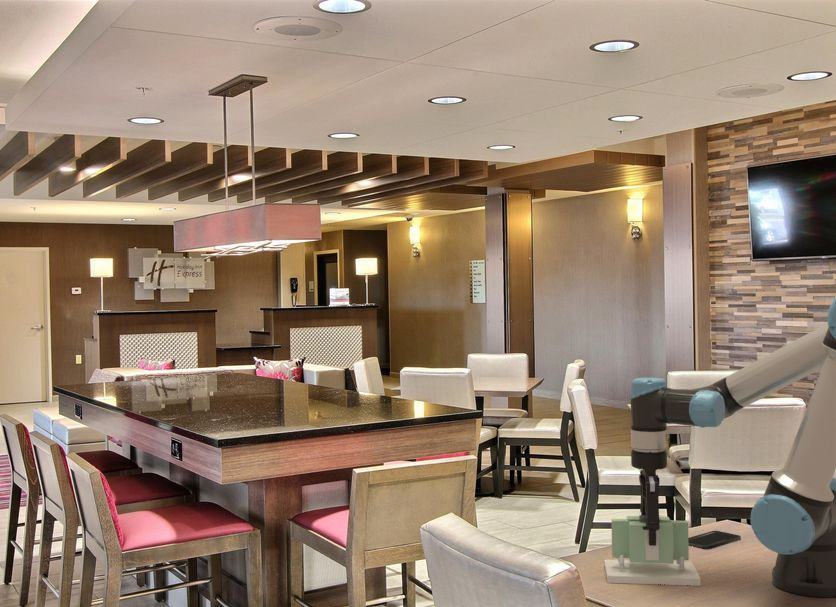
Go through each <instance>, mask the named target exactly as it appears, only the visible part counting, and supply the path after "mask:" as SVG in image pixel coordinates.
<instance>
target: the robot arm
mask: <svg viewBox="0 0 836 607" xmlns="http://www.w3.org/2000/svg"><path fill="white" fill-rule="evenodd" d="M826 320H827V323H825V324H823V325H822V326H820V327H818V328H816V329H814V330H812V331H810V332H808V333H806V334H804V335H803V336H801V337H799V338H796V339H795V340H793V341H791V342H789V343H787V344H785V345H784V346H782V347H780V348H778V349H776V350H774V351H772V352H771V353H769V354H767V355H765V356H762V357H761V358H759V359H757V360H755V361H754V362H752V363H750V364H748V365H746V366H745V367H742V368H741V369H739V370H737V371H735V372H732V373H731V374H729V375H727V376H726V377H723V378H721V379H719V380H718V381H716V382H714V383H712V384H710V385H707V386H702V387H698V388H697V387H696V388H693V389H689V388H688V389H686V388H685V389H684V388H681V389H680V388H670V387H668V385H667V381H666V380H665V379H664V378H662V377H661V378H659V377H637V378H634V379H632V381H631V384H630V397H629V401H630V421H631V422H630V424H631V425H630V446H631V448H633V449H632V450H631V451H630V455H631V456H630V458H631V459H630V460H631V461H630V462H631V463H630V465H631V467H632V468H635V469H638V470H640V471H639V475H638V476H639V477H638V480H639V491H640V509H639V511H640V515H646V527H645V526H643V530H645V559H646V560H656V561H659V530H658V529H660V525H659V517H660V509H659V508H660V505H659V504H660V503H659V502H660V501H659V500H660V499H659V496H660V490H659V489H660V487H659V486H660V484H661V480H660V477H659V475H658V474H657V470H664V469H666V468H667V467H668V452H667V451H666V450H665V449H666V448H667V447H668V446H667V443H668V442H667V439H669V438H670V434H668V433H667V426H668V425H667V424H671V425H683V426H689V427H690V426H693V427H699V428H717V427H719V426H720V425H721V424H722V422H723V421H724V419H726V418H729V417H731V416H733V415H734V414H735V413H737V412H738V411H740V410H741V409H743V408H746V407H748V406H749V405H751V404H754V403H756V402H757V401H759V400H762V399H764V398H765V397H768V396H770V395H772V394H774V393H776V392H778V391H780V390H781V389H784V388H786V387H788V386H790V385H792V384H793V383H796V382H798V381H800V380H802V379H804V378H806V377H808V376H810V375H812V374H814V373H816V372H818V371H820V370H821V371H820V372H819V375H818V378H817V380H816V383H815V386H814V388H813V391H812V393H811V397H810V398H809V401H808V404H807V406H806V410H805V412H804V415H803V417H802V420H801V422H800V425H799V427H798V429H797V432H796V435H795V437H794V440H793V443H792V445H791V448H790V451H789V453H788V454H787V455H788V456H787V458H786V460H785V462H784V465H783V467H782V468H780V469H777V470H774V471H773V472H772V473H771V476H770V479H769V480H768V484H767V486H766V489H765V491H764V494H763V496H762V497H760V498H759V499H758V500H756V503H754V505H753V507H752V509H751V512H750V526H751V529H752V531H753V533H754V535H755V537H756V539H757V540H758V541H759V542H760V543H761V544H762V545H763V546H764V547H765V548H767V549H768V550H770V551H772V552H775V553H777V556H776V560H775V565H774V566H773V567H772V570H771V582H772V584H773V585H774V586H775V587H776V588H777V589H778V588H779V589H780V590H782V591H786V592H788V593H792V594H796V595H799V596H800V595H801V596H805V597H806V596H808V597H815V598H833V597H835V598H836V477H834V475H835V473H836V297H835V298H834V299H833V300H832V302H831V304H830V305H829V308H828V311H827V319H826Z"/></svg>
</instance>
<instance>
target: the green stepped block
mask: <svg viewBox="0 0 836 607" xmlns="http://www.w3.org/2000/svg"><path fill="white" fill-rule="evenodd" d="M659 525H660V529H658V530H659V561H656V560H646V559H645V530H643V526H645V527H646V515H641V514H639V515H626V518H611V556H612V558H613V559H618V558H619V557H620V555H623V556H624V559H628V560H630V562H632V563H662V564H674V562H675V561H677V560H679V558H680V557H684V561H689V560H690V558H689V557H690V556H689V555H690V554H689V552H690V551H689V548H690V546H689V545H688V538H689V522H688V520H672V519H671V518H670V517H669V516H659Z"/></svg>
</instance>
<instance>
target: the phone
mask: <svg viewBox="0 0 836 607" xmlns="http://www.w3.org/2000/svg"><path fill="white" fill-rule="evenodd" d="M741 538H742V537H741V535H739V534H735V533H729V532H724V531H720V530H712V531H708V532H704V533H701V534H697V535H693V536H689V537H688V545H689V547H692V546H693V548H696V549H700V550H712V549H716V548H718V547H721V546H725V545H728V544H732V543H735V542H738V541H741Z"/></svg>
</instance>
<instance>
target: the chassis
mask: <svg viewBox="0 0 836 607" xmlns="http://www.w3.org/2000/svg"><path fill="white" fill-rule="evenodd" d="M604 569H605V570H604V571H605V576H606V581H607V583H608V584H631V585H632V584H633V585H658V584H659V585H660V584H661V585H663V586H665V585H666V586H687V585H688V586H689V585H690V586H694V587H701V585H702V584H701V577H700V575H699V573H698V571H697V569H696V567H695V565H694V563H693V562H692V561H685V560H684V557H680V558H679V560H676V561H674V564H662V563H632V562H630V560H629V559H625V558H624V556H623V555H620V557H619V558H617V559H604ZM664 584H665V585H664ZM659 585H658V586H659Z"/></svg>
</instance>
